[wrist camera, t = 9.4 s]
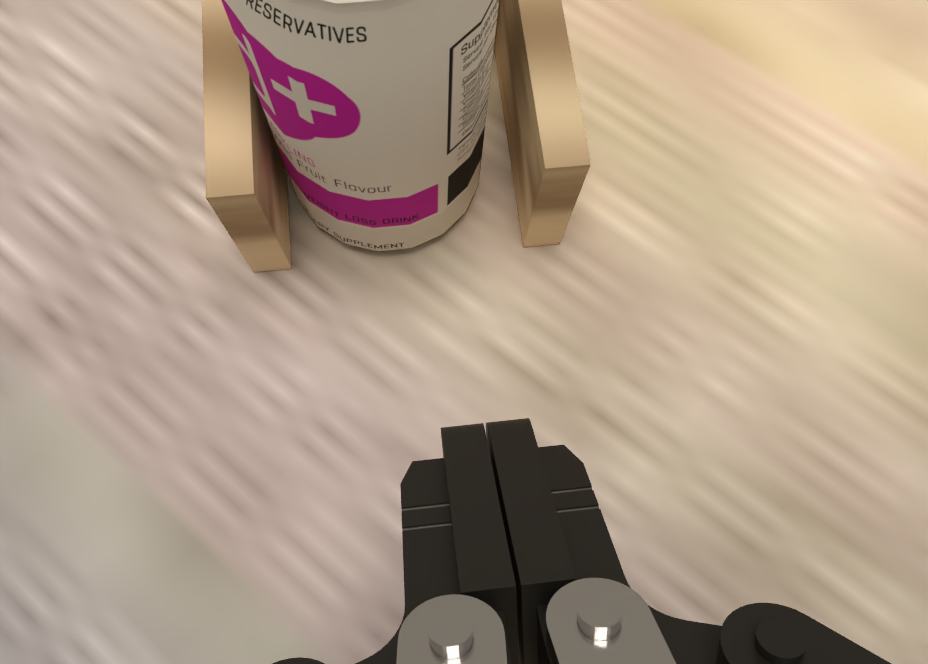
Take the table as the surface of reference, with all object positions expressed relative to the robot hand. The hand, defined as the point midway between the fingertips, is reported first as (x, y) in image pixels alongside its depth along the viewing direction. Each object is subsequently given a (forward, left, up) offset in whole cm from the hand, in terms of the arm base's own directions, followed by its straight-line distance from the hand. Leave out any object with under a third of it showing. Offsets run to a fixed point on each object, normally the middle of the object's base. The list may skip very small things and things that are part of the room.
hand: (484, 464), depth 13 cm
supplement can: (-12, -9, -18) cm, 24 cm away
